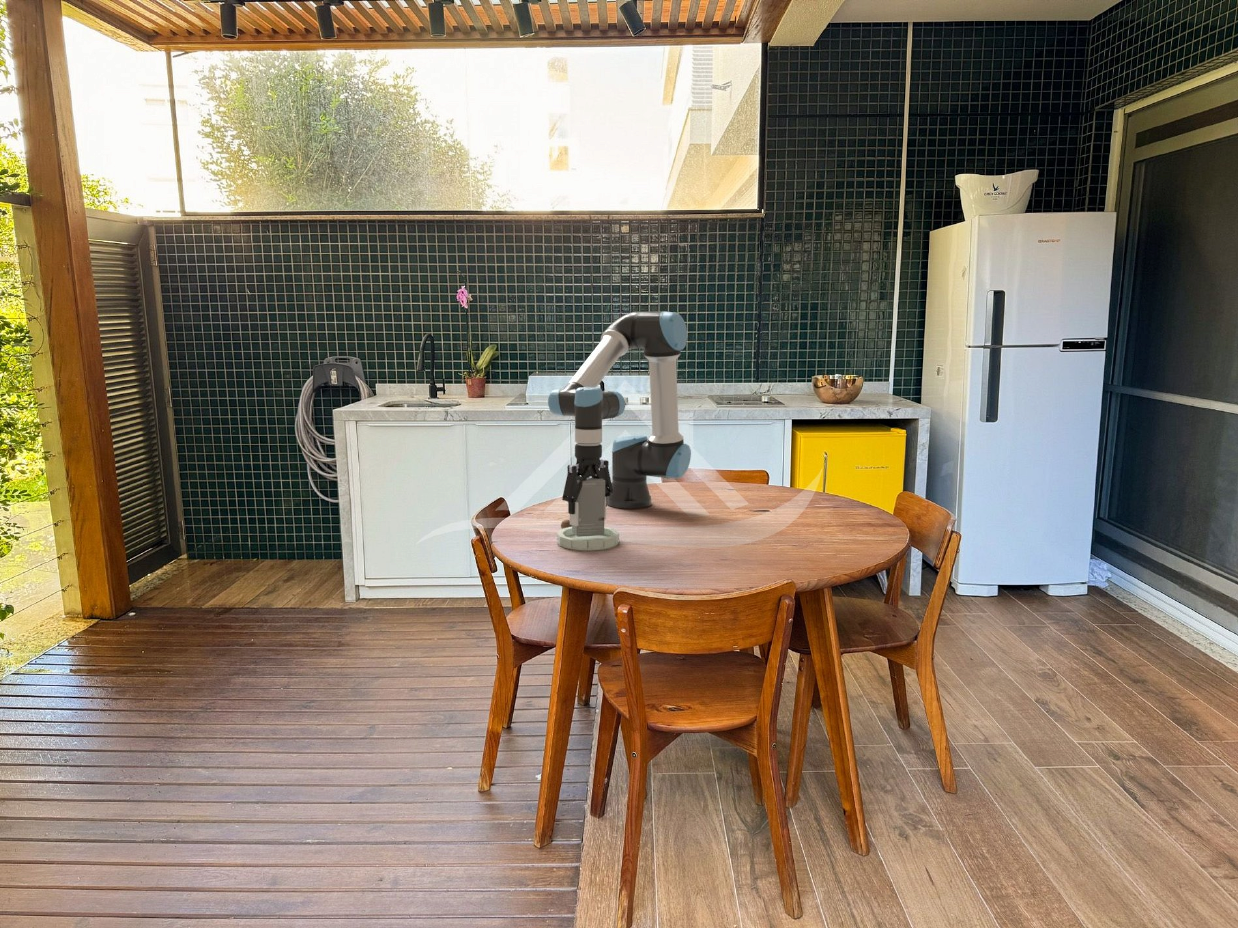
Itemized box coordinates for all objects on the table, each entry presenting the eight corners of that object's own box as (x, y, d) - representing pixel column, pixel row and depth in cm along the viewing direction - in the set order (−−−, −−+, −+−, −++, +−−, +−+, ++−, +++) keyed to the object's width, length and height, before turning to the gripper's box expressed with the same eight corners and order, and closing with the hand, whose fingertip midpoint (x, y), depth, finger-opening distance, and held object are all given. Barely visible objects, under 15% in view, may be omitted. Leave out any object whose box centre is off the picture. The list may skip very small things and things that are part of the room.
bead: (567, 529, 249) (567, 517, 248) (575, 531, 246) (575, 519, 246) (558, 531, 246) (558, 519, 246) (566, 533, 244) (566, 521, 243)
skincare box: (576, 537, 230) (576, 481, 227) (571, 531, 236) (570, 476, 234) (606, 535, 232) (606, 479, 229) (599, 529, 239) (600, 475, 236)
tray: (588, 531, 246) (588, 522, 246) (630, 542, 235) (630, 532, 234) (545, 542, 234) (545, 532, 234) (587, 554, 223) (587, 544, 222)
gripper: (607, 438, 240) (606, 512, 244) (548, 446, 224) (548, 526, 228) (626, 440, 235) (625, 517, 239) (567, 449, 219) (567, 531, 223)
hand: (588, 521), depth 234 cm, fingers closed on skincare box, 10 cm apart
